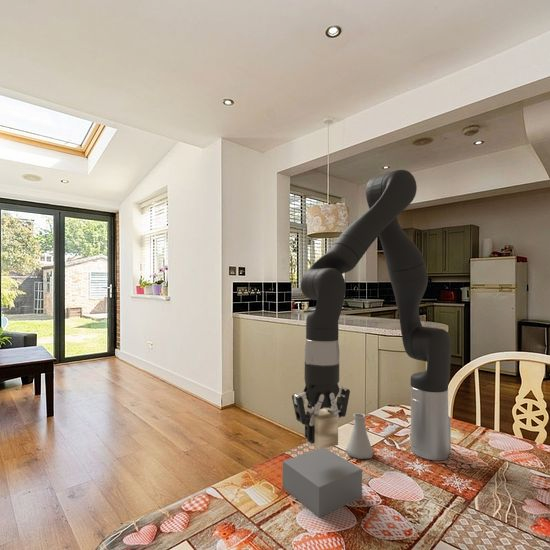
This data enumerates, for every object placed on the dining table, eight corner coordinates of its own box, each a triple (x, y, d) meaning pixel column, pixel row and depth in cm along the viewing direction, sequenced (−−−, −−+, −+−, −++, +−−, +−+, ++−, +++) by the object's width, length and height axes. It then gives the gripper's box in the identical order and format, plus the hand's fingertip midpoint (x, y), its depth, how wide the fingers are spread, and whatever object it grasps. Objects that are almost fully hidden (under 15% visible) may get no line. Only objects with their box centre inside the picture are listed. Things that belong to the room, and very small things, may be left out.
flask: (374, 461, 88) (374, 421, 88) (345, 458, 90) (345, 419, 90) (372, 448, 95) (372, 411, 95) (345, 445, 97) (345, 409, 97)
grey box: (323, 472, 83) (323, 447, 83) (362, 498, 73) (361, 469, 73) (282, 488, 76) (282, 461, 77) (318, 519, 67) (318, 487, 67)
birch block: (324, 435, 78) (324, 408, 79) (338, 444, 74) (338, 416, 74) (305, 439, 76) (305, 412, 76) (318, 449, 72) (318, 420, 72)
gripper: (338, 354, 82) (337, 427, 82) (284, 359, 76) (283, 438, 75) (359, 360, 76) (358, 440, 75) (302, 366, 69) (301, 453, 69)
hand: (321, 439), depth 75 cm, fingers closed on birch block, 5 cm apart
